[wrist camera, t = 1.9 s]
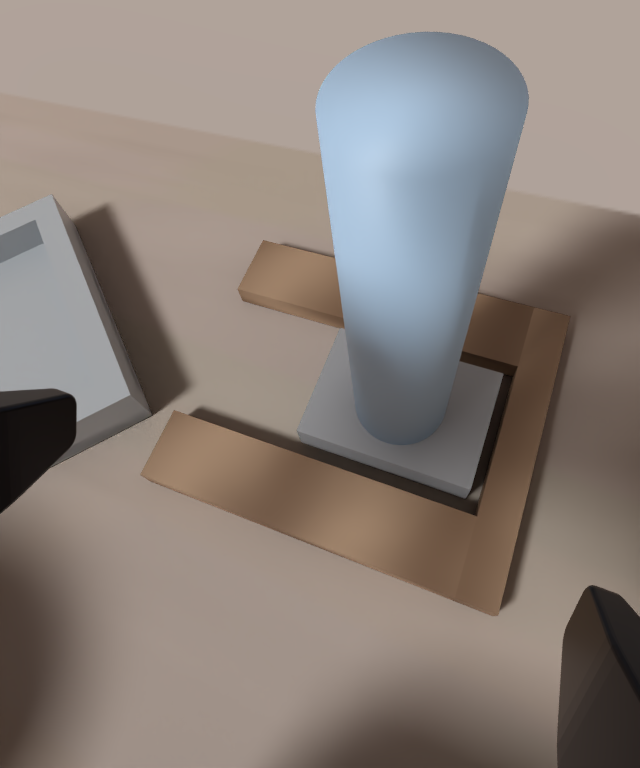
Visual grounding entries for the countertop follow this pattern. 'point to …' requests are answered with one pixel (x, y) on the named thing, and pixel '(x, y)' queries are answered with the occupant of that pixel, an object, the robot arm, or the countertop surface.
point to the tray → (62, 325)
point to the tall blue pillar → (412, 249)
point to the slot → (366, 496)
